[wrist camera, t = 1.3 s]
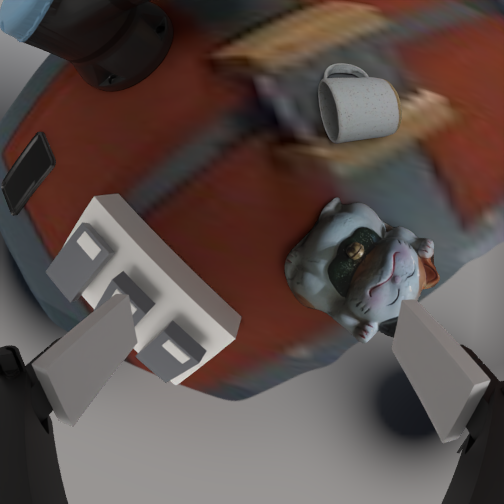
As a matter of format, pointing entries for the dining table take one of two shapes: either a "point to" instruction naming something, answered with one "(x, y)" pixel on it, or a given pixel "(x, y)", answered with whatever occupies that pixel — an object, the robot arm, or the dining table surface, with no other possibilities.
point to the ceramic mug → (357, 105)
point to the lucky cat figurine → (359, 269)
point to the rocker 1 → (79, 261)
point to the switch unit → (157, 280)
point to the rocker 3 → (171, 352)
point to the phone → (28, 172)
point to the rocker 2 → (137, 297)
